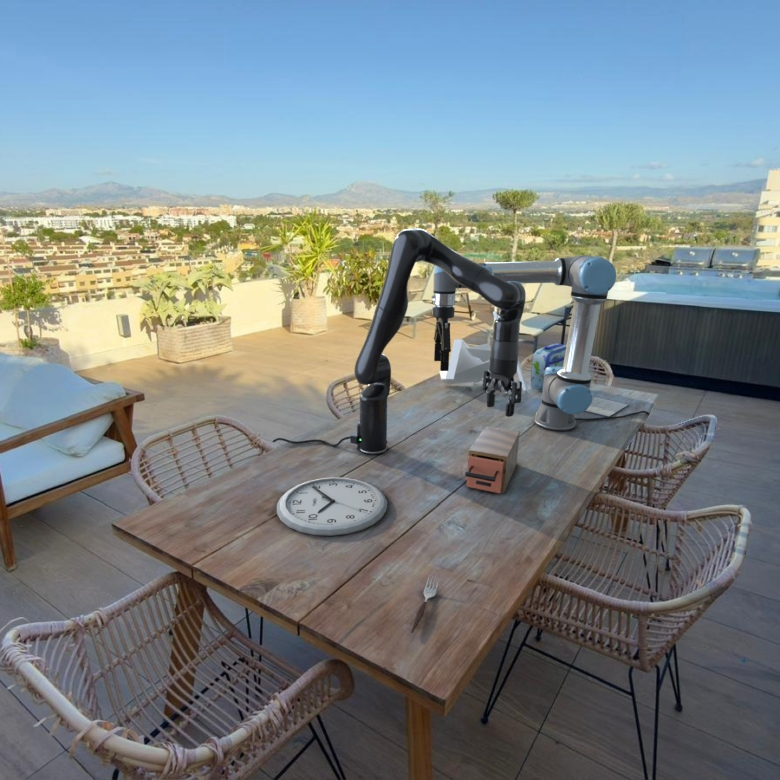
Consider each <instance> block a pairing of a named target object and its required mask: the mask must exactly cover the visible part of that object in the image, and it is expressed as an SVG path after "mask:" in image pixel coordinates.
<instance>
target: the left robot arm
mask: <svg viewBox="0 0 780 780" xmlns="http://www.w3.org/2000/svg"><path fill="white" fill-rule="evenodd" d="M419 262H424V263H427V264H431V265H433V266H435V265H436V266H438V267H439V268H441V269H442V270H444V271H445V272H446V273H447V274H448V275H449V276H450V277H451V278H452V279H454V280H455V281H456V282H457V283H459V284H461V285H462V286H464V287H466V288H465V289H468V290H470V291H471V292H473V293H476V294H478V295H479V296H480V297H481V298H483V300H485V301H487V302H488V303H489V304H490V305H492V306H494V307H495V308H496V309H497V308H498V313H497V314H498V317H497V318H496V319H495V318H494V321H493V327H492V339H491V345H490V347H491V352H490V366H489V371H484V377H483V380H482V387H481V388H482V391H484V392H485V394H486V407H487V408H494V407H495V403H496V402H495V400H496V394H495V393H496V392H497V391H499V392H500V393H501V394H502V396H503V397H504V398H505V401H506V404H505V417H507V418H508V417H513V416H514V414H515V409H516V408H515V407H516V406H515V405H516V404H520V403H522V395H523V394H522V391H523V389H522V382H521V381H520V380H517V381H516V380H515V377H514V376H515V375H516V374H517V364H518V359H519V352H520V344H519V342H520V328H521V321H522V317H523V313H524V309H525V305H526V297H527V295H526V289H525V287H524V285H523V283H519V282H517V281H509V282H505V281H503V280H501V279H499V278H497V277H496V276H494V273H493V272H492V271H490V270H489V269H487V268H485V267H483V266H481V265H479V264H477V263H478V262H475V261H474V260H471V259H470V258H467V257H465V256H463V255H461V254H460V253H458V252H456V251H454V250H453V249H451V248H450V247H448V246H447V245H446V244H444V243H443V242H441V241H440V240H439V239H437V238H436V237H435V236H434V235H432V234H431V233H429V232H428V231H426V230H425V229H422V228H409V229H408V228H407V229H403V230H401V231H400V232H398V233H397V235H396V236H395V238H394V240H393V243H392V247H391V251H390V257H389V261H388V265H387V266H388V267H387V271H386V276H385V277H384V280H383V284H382V287H381V292H380V294H379V297H378V300H377V303H376V306H375V308H374V312H373V316H372V320H371V322H370V325H369V328H368V332H367V334H366V338H365V340H364V343H363V345H362V347H361V349H360V351H359V354H358V357H357V358H356V360H355V364H354V377H355V379H356V381H357V382H358V383H359V384H361V385H364V386H366V387H365V388H364V389H363V390H362V391H361V392H360V394H359V422H358V423H357V425H356V431H355V432H354V433H352V434H351V435H349V436H346V437H342V438H341V439H340V440H339V441H338V442H337V443H335V444H332V443H330V442H328V441H325V440H323V439H306V440H300V441H299V440H298V441H294V440H290V439H286V438H283V437H276V438H274V439H272V441H271V442H272V443H276V442H277V441H282V442H287V443H289V444H296V445H297V444H306V443H315V442H317V443H321V444H322V443H323V444H325V445H326V446H329V447H338V446H340V445H341V444H342V442H344V441H346V440H349V441H350V444H353V445H357V446H356V450H357V451H360V452H361V453H363V454H365V455H371V456H372V455H373V456H374V455H376V456H377V455H381V454H384V453H386V452H387V450H388V439H387V438H388V437H387V436H388V398H389V396H390V393H391V381H392V365H391V362H390V359H389V358H388V357H387V356H386V354H384V353H383V352H384V350H385V349H386V347H387V346H388V344H389V343H390V342H391V341H392V340H393V339H394V337H395V336H396V334H397V333H398V332H399V330H400V329H401V327H402V325H403V323H404V320H405V316H406V314H407V311H408V307H409V292H408V287H409V286H408V285H409V280H410V278H411V277H410V276H411V274H412V271H413V269H414V267H415V266H416V265H415V264H416V263H419ZM516 395H517V398H516Z"/></svg>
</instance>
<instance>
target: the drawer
mask: <svg viewBox="0 0 780 780" xmlns="http://www.w3.org/2000/svg"><path fill="white" fill-rule="evenodd" d="M503 465H504V462H503V459H498V458H492V457H486V456H481V455H475V454H474V456H469V455H468V457H467V471H465V474H464V477H466V483H465V484H466V485H465V486H466V487H467V488H472V489H476V490H481V491H486V492H491V493H496V494H501V493H502V492H501V487H502V476H503Z"/></svg>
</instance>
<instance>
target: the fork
mask: <svg viewBox="0 0 780 780" xmlns="http://www.w3.org/2000/svg"><path fill="white" fill-rule="evenodd" d="M430 576H431V574H429V575H428V578H427V581H426V585H425V587H424V589H423V595H424V598H425V600H424V601H423V603H422V604H421V605H420V607H419V608H418V610H417V613H416V615H415V619H414V622H413V626H412V629H411V630H410V631H411V632H410V634H413V633H414V632H415V629H416V627H418V624H419V622H420V621H421V619H422V618H423V616H424V613H425V609H426V605H427V603H428V600H429V599H432V598H434V597H435V596H436V595H437V592H438V588H439V584H440V583H439V582H440V576H439V577H438V579H437V577H435V578H434V575H432V577H431V579H430ZM433 578H434V579H433ZM433 580H434V581H433ZM436 580H437V582H436ZM429 582H430V583H429ZM432 583H433V584H432ZM435 585H436V586H435Z"/></svg>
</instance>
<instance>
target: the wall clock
mask: <svg viewBox="0 0 780 780" xmlns="http://www.w3.org/2000/svg"><path fill="white" fill-rule="evenodd" d="M387 509H388V500H387V498H386V496H385V494H384V493H383V492H382V491H381V490H380V489H379V488H377V487H376V486H374V485H372V484H371V483H369V482H365V481H362V480H359V479H355V478H349V477H338V476H337V477H335V476H333V477H332V476H331V477H322V478H317V479H312V480H307V481H305V482H302V483H299V484H297V485H295V486H293V487H292V488H290V489H288V490H287V491H286V492H285V493H284V494H283V495H281V496H280V498H279V499H278V502H277V503H276V515H277V517H278V518H279V520H280V521H281V522H282V523H283V524H285V525H286V526H287V527H288V528H290V529H293V530H295V531H297V532H299V533H303V534H308V535H312V536H327V537H328V536H329V537H331V536H332V537H333V536H342V535H350V534H352V533H356V532H361V531H363V530H366V529H368V528H369V527H372V526H373V525H375V524H376V523H378V522H379V521H380V520H381V519H382V518H383V517H384V516H385V514H386V512H387Z"/></svg>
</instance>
